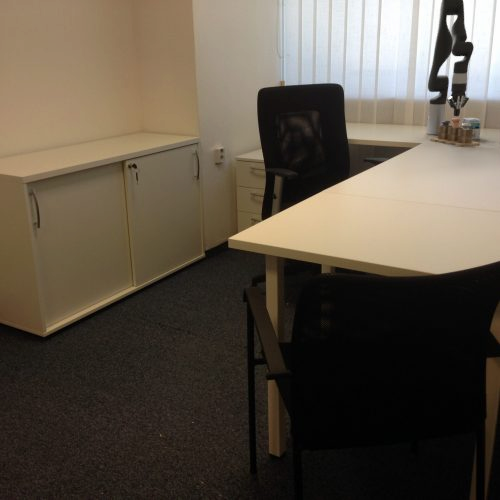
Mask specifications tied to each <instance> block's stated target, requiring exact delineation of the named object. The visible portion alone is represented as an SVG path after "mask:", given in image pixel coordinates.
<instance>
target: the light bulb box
mask: <svg viewBox="0 0 500 500" xmlns="http://www.w3.org/2000/svg"><path fill="white" fill-rule="evenodd" d="M464 123H468V124H471V126H470V127H469V129H473V137H472V141H473V140H480V137H481V129H482V127H481V126H482V119H480V118H476V117H463V120H462V124H464Z"/></svg>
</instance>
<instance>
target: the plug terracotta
mask: <svg viewBox="0 0 500 500" xmlns="http://www.w3.org/2000/svg"><path fill="white" fill-rule="evenodd" d="M451 122H452V126H453V128H459V127H460V122H461V117H452V118H451Z"/></svg>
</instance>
